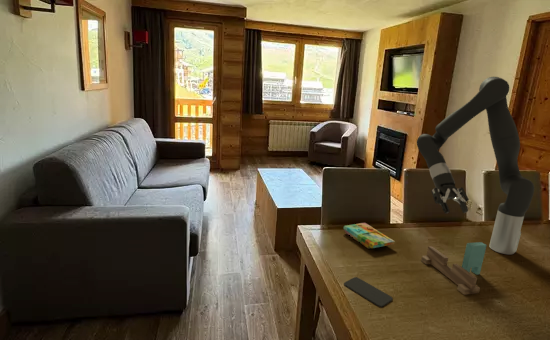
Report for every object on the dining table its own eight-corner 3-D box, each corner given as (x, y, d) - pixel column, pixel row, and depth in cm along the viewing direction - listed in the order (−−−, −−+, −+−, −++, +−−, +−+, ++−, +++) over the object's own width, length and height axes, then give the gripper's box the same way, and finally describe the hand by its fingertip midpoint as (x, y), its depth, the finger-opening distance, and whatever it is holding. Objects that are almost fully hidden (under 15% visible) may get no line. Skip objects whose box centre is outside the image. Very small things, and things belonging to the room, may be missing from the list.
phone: (356, 276, 116) (394, 298, 104) (355, 278, 116) (393, 300, 105) (342, 283, 111) (381, 306, 100) (342, 285, 111) (380, 309, 100)
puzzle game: (364, 220, 154) (395, 239, 137) (363, 230, 155) (393, 249, 138) (343, 224, 149) (373, 243, 132) (342, 233, 151) (372, 254, 133)
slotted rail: (433, 259, 131) (436, 245, 129) (478, 292, 110) (482, 277, 109) (420, 260, 130) (423, 246, 128) (463, 294, 109) (467, 278, 107)
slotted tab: (474, 270, 124) (481, 242, 121) (479, 274, 122) (486, 245, 119) (460, 272, 123) (466, 243, 120) (465, 275, 120) (472, 246, 117)
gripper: (432, 171, 131) (447, 209, 123) (462, 171, 135) (478, 208, 127) (421, 180, 137) (435, 216, 130) (449, 180, 141) (465, 215, 133)
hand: (456, 212), depth 128 cm, fingers open, 8 cm apart
